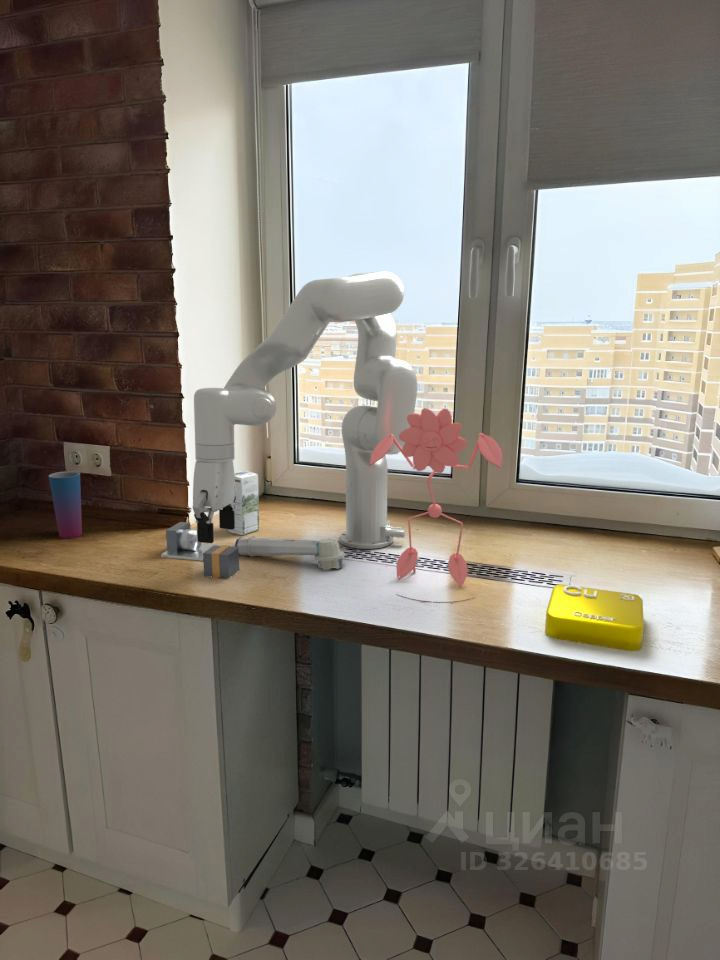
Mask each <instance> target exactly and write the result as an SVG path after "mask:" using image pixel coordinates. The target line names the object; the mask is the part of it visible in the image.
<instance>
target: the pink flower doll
mask: <svg viewBox="0 0 720 960" xmlns="http://www.w3.org/2000/svg"><path fill="white" fill-rule="evenodd" d="M452 418H453V417H452V413H451V412H450V410H449V409H448V408H442V409H441V410H439V412H438V413H437V414H435V412H434V411H432V410H430V409H429V408H423V409H421V412H420V414H419V413H415V412H414V413H411V414H409V415H408V416H407V421H408V423H409V425H410V428H407V429H405V430H403V431H402V432H401V433H400V434H399V439H400V440H402V441H403V442H405V444H404V446H403V449H402V448H401V446H400V445H399V444H398V442H397V441H396V439H395V438H394V435H393V434H391V435H390V436H388V437H385V438H384V439H383V440H382V441H380V442H379V443H378V444H377V446H376V447H375V448H374V450H373V452H372V454H371V459H370V465H373V464H374V463H376V462H377V461H379V460H380V459H382V458H383V457H384V456H386V455H388V454H387V453H388V451H389V450H390V448H391V446H392V443H393V441H394V443H395V444H396V446H397V447H398V448H399V450H400V451H401V452H400V453H401V454H402V456H403V457H404V458H405V460H406V461H407V463H408V464H409V466H410V467H411V468H412V470H416V471H417V472H423V471H424V470H426V468H427V467H430V468H431V469H432V472H431V473H430V474H429V476H428V477H427V480H426V484H427V486H428V489H429V490H428V491H429V494H430V497H431V498H430V499H431V501H432V504H430V505H429V507H427V511H426V512H423V513H420V514H418V515H417V514H416V515H414V516H410V517H408V519H407V523H408V524H407V525H408V540H409V541H408V542H409V547H407V548H406V549H405V550H404V551H403V552H402V553H401V554H400V556H399V557H398V559H397V563H396V577H397V578H396V579H397V581H399V580H401V579H403V578H405V577H406V576H408V575H409V574H410V573H411V572H413V573H416V572H417V570H416V564H417V562H418V557H419V556H418V555H419V554H418V553H419V552H418V550H417V549H416V548H415V547H414V546H412V534H411V533H412V531H411V529H412V528H411V520H412V519H415V518H416V519H417V518H418V517H421V516H425V515H429V516H430V517H431V518H434V519H436V518H439V517H440V516H443V517H444V518H447V519H449V520H451V521H454V522H455V523H458V524H460V529H459V536H458V543H457V549H456V552H453V553H452V554H451V555H449V559H448V565H447V567H448V572H449V574H450V577H451V578H452V579H453V580H454V581H455V583H456V584H458V586H459V587H461V588H462V587H463V586H464V583H465V582H466V579H467V576H468V569H469V568H468V564H467V561H466V559H465V558H464V557H463V555H462V554H461V553H459V551H460V547H461V540H462V534H463V529H464V528H463V527H464V524H463V522H462V521H460V520H457V519H455V518H453V517H451V516H449V515H446V514H444V513H442V506H441V505H439V504H437V503H436V500H435V498H434V493H433V488H432V483H431V479H433V476H434V475H435V473H437V474H442V473H444V470H445V468H446V467H452V468H459V469H463V470H470V468H471V467H472V464H473V461H475V460H474V459H475V457H476V456H477V455H476V454H477V452H478V450H479V452H480V454H481V456H482V457H483V458H484V459H485V460H486V461H487V462H489V463H490V464H492V465H493V466H495V467H496V468H499V469H500V468H502V464H503V452H502V449H501V447H500V445H499V444H498V442H497V441H496V440H495V439H494V438H493V437H491V436H490V435H487V434H484V432H479V434H478V436H479V437H478V439H477V443H476V445H475V448H474V449H473V453H472V455H471V457H470V460H469V462H468V465H462V464H461V465H460V464H459V461H460V459H459V456H458V455H457V453H458V452H459V453H460V452H461V451H463V450H464V449H465V448H467V446H468V441H467V439H464V438H463V437H461V436H460V435H461V434H462V433H461V431H462V424H461V423H459V422H453V419H452ZM410 458H412V460H411V459H410ZM412 461H413V462H412ZM388 566H390V565H389V564H387V565H386V566H385V568H387V567H388ZM396 596H398V597H402V598H404V599H408V600H413V601H417V602H422V603H425V604H427V603H431V601H428V600H420V599H414V598H409V597H407V596H403V595H400V594H397V593H396ZM475 598H476V596H475V597H471V598H468V599H463V600H462V599H461V600H456V601H455V600H454V601H452V602H451V601H434V603H436V604H438V603H439V604H441V603H443V604H444V603H445V604H446V603H450V604H452V605H453V603H454V604H455V603H456V604H457V603H460V602H464V601H470V600H473V599H475Z"/></svg>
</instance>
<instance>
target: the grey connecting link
mask: <svg viewBox="0 0 720 960" xmlns="http://www.w3.org/2000/svg"><path fill="white" fill-rule="evenodd" d="M234 546H235V547H239V556H245V555H247V556H246V557H248V556H250V558H253V556H254V557H256V556H257V557H258V556H261V557H262V556H264V557H265V556H267V557H269V556H314V559H315V561H316V562H317V567H318V568H319V569H323V571H331V569H334V568H335V569H336V570H337V569H341V568H343V567H344V566H345V562H344V561H345V560H344V557H345V556H346V555H345V554H346V553H345V552H344V551H343V550H341V549H340V544H339V541H338V540H337V539H336V538H323V539H320V540H311V539H310V540H308V539H307V540H306V539H289V538H273V537H272V538H270V537H269V538H267V537H256V536H255V535H252V536H250V537H239V538H237V539H236V540H235V544H234Z"/></svg>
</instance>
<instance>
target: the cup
mask: <svg viewBox="0 0 720 960" xmlns="http://www.w3.org/2000/svg"><path fill="white" fill-rule="evenodd" d="M48 481H49V487H50V492H51V496H52V502H53V509H54V515H55V519H56V524H57V530H58V536H59V538H60V539H74V538H78V537H81V536H82V535H83V528H82V527H83V526H82V523H83V522H82V495H81V494H82V493H81V489H82V488H81V472H79V471H74V470H72V471H71V470H69V471H58V472H54V473H51V474H49V475H48Z"/></svg>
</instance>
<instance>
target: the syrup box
mask: <svg viewBox="0 0 720 960" xmlns="http://www.w3.org/2000/svg"><path fill="white" fill-rule="evenodd" d="M234 477H235V485H236V487H237V489H236V495H235V496H236V500H235V503H234V504H235V510H234V511H235V528H234V529H233V530H231V529H226V532H227V531H228V532H227V533H230V532H231V534H234V533H236V534H235V535H239V536H245V535H246V536H247V535H248V534H252V533H254V531H255V532H258V531H260V513H259V512H260V509H259V508H260V507H259V506H260V502H259V500H260V499H259V498H260V497H259V474H257V473H255V472H252V471H246V470H240V471H237V472H236V471H235V472H234Z"/></svg>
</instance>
